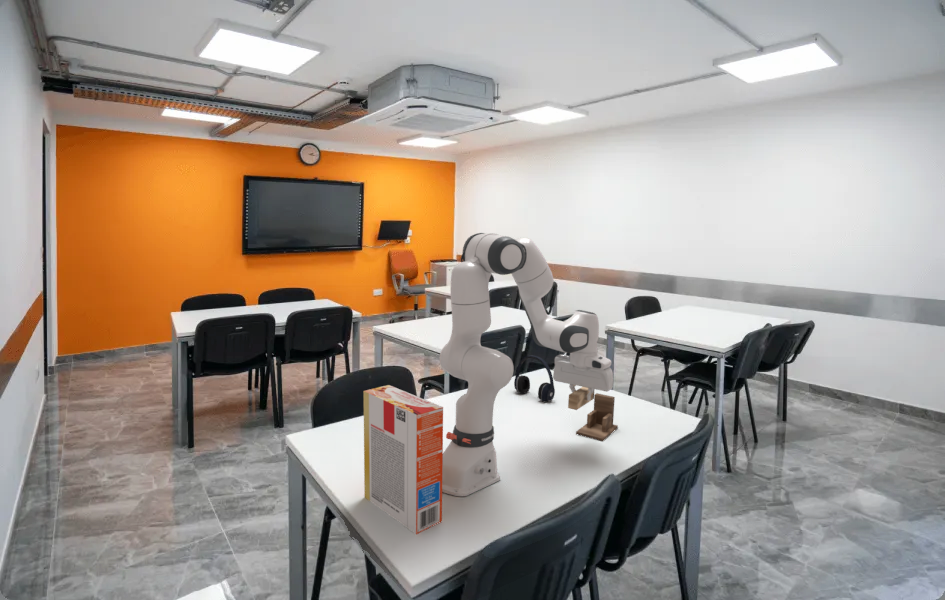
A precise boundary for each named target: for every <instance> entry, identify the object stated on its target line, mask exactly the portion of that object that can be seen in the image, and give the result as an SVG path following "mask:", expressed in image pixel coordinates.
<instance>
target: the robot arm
mask: <svg viewBox="0 0 945 600" xmlns="http://www.w3.org/2000/svg"><path fill="white" fill-rule="evenodd" d="M493 274H497V275H502V276H506V275H511V276H512V279H514V282H515V284H516V285H517V288H518V296H519V299H520V302H521V304H522V307H523V309H524V312H525V314H526V316H527V318H528V321H529V324H530V325H529V326H530V328H531V331H530V332H531V335H532V339H533V341H534V343H535V344H536V345H537V346H539V347H542V348H548V349H551V350H555V351H557V352H562V353H566V354H570V355H566V354H565V355H563V354H558V355H556V356H555V357H554V367H553V374H552V377H553V381H554V382H559V383H563V384H568V385H569V389H570V391H571V393H573V392H574V391H576V390H577V389H576V387H587V388H588V391H590V392H589V393H588V394H586V395H585V400H588V401H589V400H590V399H591V394H592V393H593V391H594V392H595V390H596V391H603V392H609V391H610V390H612V389H613V387H614V372H613V370H612V368H611V366H612V360H611V359H610V358H608V357H606V356H604V355H602V354H601V353H598V340H599V334H600V325H599V317H598V315H597V314H596V313H595V312H591V311H586V310H583V309H577V310H574V312H573V314H572V315H571V316H570V317H569V318H568V319H565V320H563V321H562V320H558V319H555V318H553V317H551V316H550V315H549V314H547V311H546V308H545V306H544V304H543V301H542V298H544V297H545V296H546V295H547V294H548V293H549V292H550V291H551V289H552V287H553V285H554V282H555V280H554V276H553V272H552V270H551V268H550V266H549V263H548V261H547V259H546V258H545V257H544V255H543V253H542V252H541V250H540V249H539V247H538V246H537V245H536V243H535V242H534V241H533V240H532V239H531V238H528V237H517V238H513V237H510V236H506V235H505V236H504V235H500V234H497V233H487V232H486V233H485V232H479V233H474V234H472V235H470V236H469V237H468V238H467V239H466V240H465V242H464V245H463V247H462V254H461V256H460V262H459V263H458V264H456V265H454V267H453V268H452V270H451V277H450V304H451V305H450V307H451V321H452V328H451V333H450V334H451V335H450V337H449V341H448V342H447V343H446V344H445V345H444V346H443V347H442V349H441V351H440V354H439V357H438V359H439V364H440V368H442V370H443V371H445V372H446V373H448V374H449V375H451V376H452V377H454V378H457V379H460V380H462V381H463V380H464V381H466V382H467V385H468V386H467V390H466V393H464V394H462V395H461V396H460V397H459V398H458V399H457V400H456V403H455V425H454V427H453V430H452V432H450V431H447V433H446V435H445V437H446V439H447V440H450V442H449V444H447V445H448V446H447V447H446V448H445V449H444V450H443V465H442V493H444V494H448V495H449V496H454V497H455V496H456V497H467V496H469V495H471V494H473V493H475V492H477V491H481V490H482V489H484V488H486V487H488V486H490V485H493V484H494V483H497V482H499V481H500V480H501V475H500V474H499V472H498V463H497V459H498V458H497V451H496V448H495V446H494V442H493V440H495V439H494V438H495V437H494V436H495V431H494V430H495V427H494V426H493V422H494V421H493V418H494V405H495V400H496V397H497V395H498V394H499V392H500V390H502V389H503V388H505V387H506V386H507V385H508V384H509V383H510V381H511V380H512V379H513V375H514V363H513V360H512V358H510V357H509V356H508V355H507V354H505V353H503V352H501V351H500V350H498V349H494V348H490V347H487V346H482V345H481V344H482V343H481V337H482V334H484V333H485V332H487V330H488V329H489V328H490V327H491V324H492V314H491V302H490V291H489V282H490V278H491V276H492V275H493ZM594 389H595V390H594Z"/></svg>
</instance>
